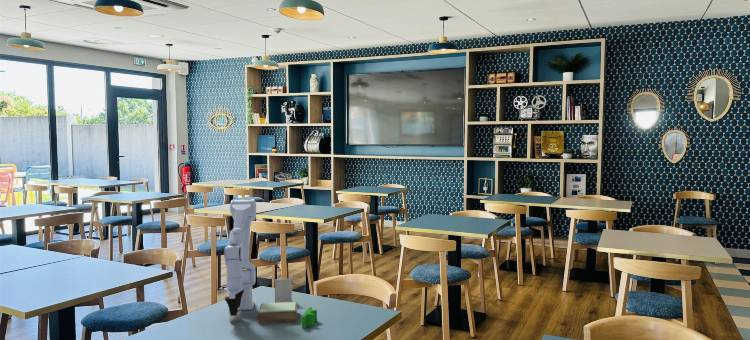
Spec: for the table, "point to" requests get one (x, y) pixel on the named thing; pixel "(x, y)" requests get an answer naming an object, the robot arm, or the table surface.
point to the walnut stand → (277, 312)
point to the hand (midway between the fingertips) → (235, 312)
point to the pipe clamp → (309, 318)
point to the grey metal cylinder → (236, 318)
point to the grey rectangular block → (283, 290)
